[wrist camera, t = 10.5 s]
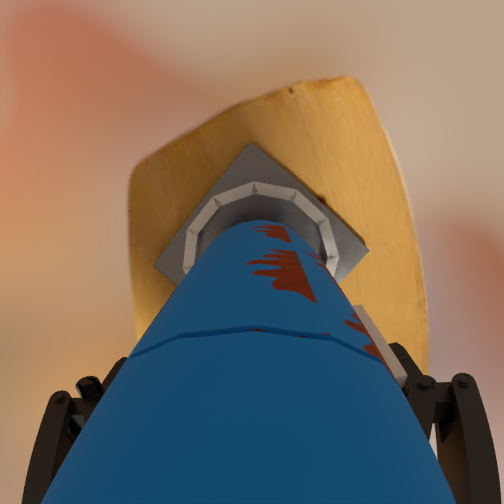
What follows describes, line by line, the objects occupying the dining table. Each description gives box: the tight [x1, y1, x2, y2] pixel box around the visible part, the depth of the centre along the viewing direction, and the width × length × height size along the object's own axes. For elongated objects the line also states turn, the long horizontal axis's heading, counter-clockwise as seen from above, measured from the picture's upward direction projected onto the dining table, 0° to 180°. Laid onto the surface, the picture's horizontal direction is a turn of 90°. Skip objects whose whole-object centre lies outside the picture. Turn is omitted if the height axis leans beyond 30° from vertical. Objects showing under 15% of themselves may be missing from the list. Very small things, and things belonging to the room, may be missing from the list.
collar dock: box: [154, 142, 370, 286], centre depth 30 cm, size 18×18×2 cm
